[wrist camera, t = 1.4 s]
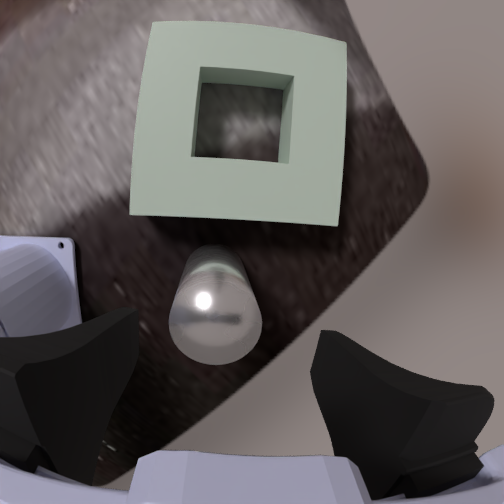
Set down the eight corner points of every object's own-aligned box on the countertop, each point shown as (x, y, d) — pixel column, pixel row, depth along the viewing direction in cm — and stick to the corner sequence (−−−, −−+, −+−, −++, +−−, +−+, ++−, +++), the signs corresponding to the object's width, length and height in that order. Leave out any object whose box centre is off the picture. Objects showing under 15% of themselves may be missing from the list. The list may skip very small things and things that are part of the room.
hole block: (141, 210, 19) (129, 214, 16) (160, 41, 16) (152, 21, 13) (320, 219, 20) (337, 226, 18) (330, 57, 18) (346, 42, 15)
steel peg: (184, 299, 21) (170, 362, 13) (185, 242, 20) (167, 279, 12) (242, 301, 21) (258, 365, 13) (245, 244, 20) (265, 283, 12)
